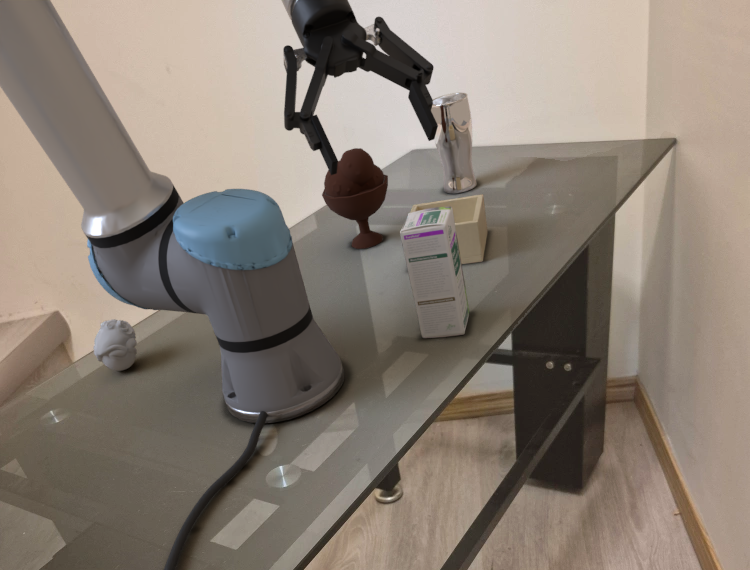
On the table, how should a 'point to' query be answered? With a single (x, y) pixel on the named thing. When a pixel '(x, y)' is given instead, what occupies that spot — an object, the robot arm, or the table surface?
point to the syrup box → (435, 272)
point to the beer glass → (454, 141)
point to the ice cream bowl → (357, 193)
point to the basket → (466, 224)
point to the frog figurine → (115, 344)
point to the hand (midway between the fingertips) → (384, 151)
